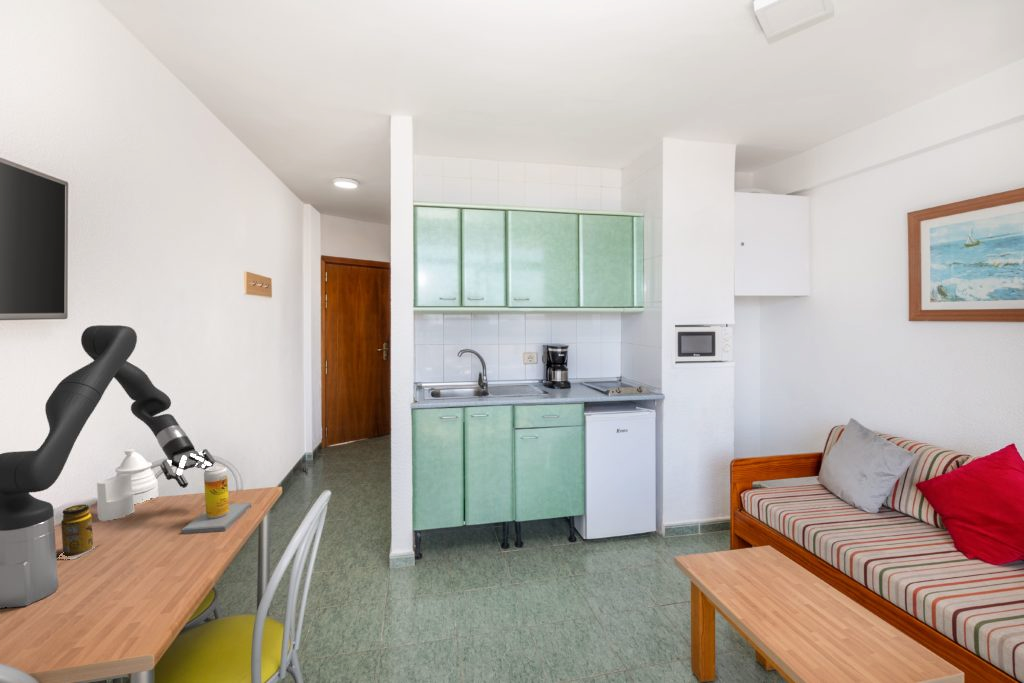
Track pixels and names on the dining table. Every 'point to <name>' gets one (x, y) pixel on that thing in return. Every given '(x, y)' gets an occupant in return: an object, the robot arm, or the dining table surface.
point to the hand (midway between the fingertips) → (199, 481)
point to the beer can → (216, 491)
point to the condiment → (76, 531)
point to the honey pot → (139, 476)
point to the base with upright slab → (115, 497)
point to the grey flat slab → (216, 520)
